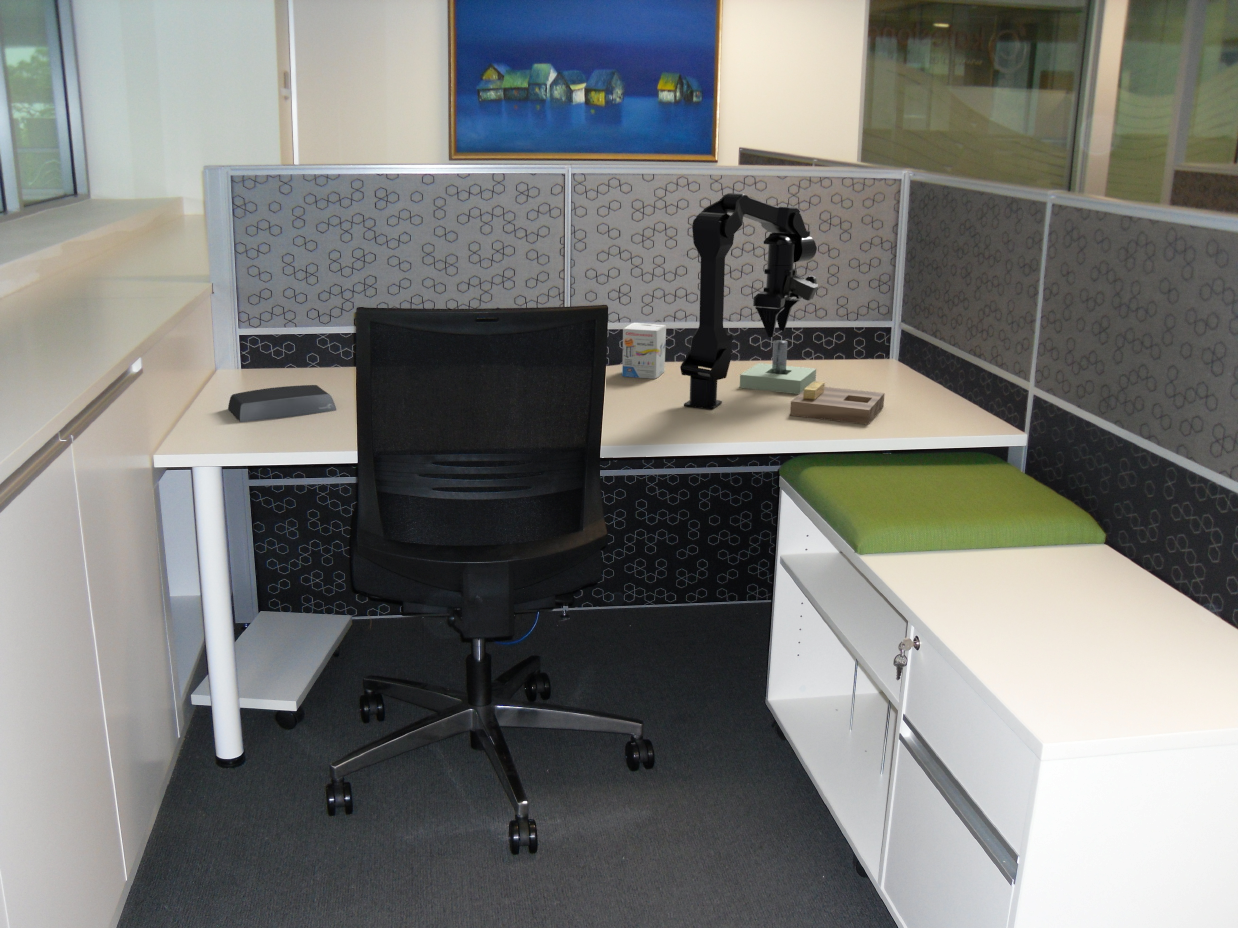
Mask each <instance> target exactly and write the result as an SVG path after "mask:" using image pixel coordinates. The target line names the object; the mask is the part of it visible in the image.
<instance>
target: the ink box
mask: <svg viewBox="0 0 1238 928" xmlns="http://www.w3.org/2000/svg"><path fill="white" fill-rule="evenodd" d="M666 338H667V325H666V324H653V323H646V322H645V323H643V322H632V323H630V324H628V325H627V326H625V327H623V328H622V371H621V372H622V374H621V375H622V377H623V378H624V377H626V378H640V379H651V380H652V379H654V380H656V379H658V377H660V376H662V374H663V373H664V372H665V368H666V366H665V365H666V363H665V362H666Z"/></svg>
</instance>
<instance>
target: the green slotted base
mask: <svg viewBox="0 0 1238 928" xmlns="http://www.w3.org/2000/svg"><path fill="white" fill-rule="evenodd" d="M816 376H817V368H813V367H802V366H792V365H786V375H783V374H773V373H772V363H762V362H758V363H756V364H754V365H753V366H751V367H750V368H748V369H746V370H745V371H743V372H742V373H741V374H739V388H741V389H742V388H743V389H750V390H759V391H769V392H777V393H787V394H795V395H797V394H798V395H799V394H800V393H801V392H803V391H804V389H805V388H806V387H807V386H808V385H809V384H811V383H812V382H813V381H816V382H817V380H816V378H817V377H816Z"/></svg>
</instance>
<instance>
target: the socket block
mask: <svg viewBox="0 0 1238 928" xmlns="http://www.w3.org/2000/svg"><path fill="white" fill-rule="evenodd" d="M803 394H804V391H803V392H801V393H800V394H798V395H797V396H796V397H794V398H793V399H791V400H790V409H789V413H790V414H789V416H792V417H802V418H811V419H818V420H827V421H834V420H835V422H843V423H853V424H861V425H869V424H870V423H871V422H872V421H873V419H875V417H876V416H877V415H878V414H879V413H880V411H881V410H882V409H883V408H884V405H885V404H884V403H885V395H886V394H885V392H880V391H871V390H862V389H851V388H843V387H842V388H841V387H835V386H833V387H831V386H824V392H823V393H822V394H821V395H820V396H818V397H817V398H816V399H815V400H812V399H803ZM882 407H883V408H882Z"/></svg>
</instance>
